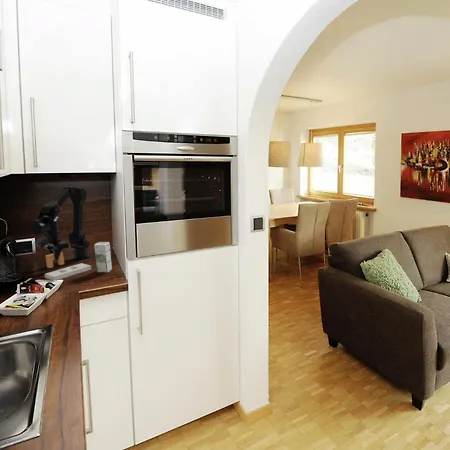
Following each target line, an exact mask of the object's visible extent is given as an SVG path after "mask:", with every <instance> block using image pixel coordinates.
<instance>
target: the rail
mask: <svg viewBox="0 0 450 450" xmlns="http://www.w3.org/2000/svg"><path fill="white" fill-rule="evenodd" d="M91 270H92V265H89V264H85V263H82V262H81V263H78V264H74V265H70V266H68V267H64V268H59V269H57V270H52V271H50V272H47V273H44V279H47V280H50V281H53V280H56V281H59V280H63V279H65V278H69V277H71V276H75V275H78V274H80V273H81V274H82V273H84V272H87V271H91Z"/></svg>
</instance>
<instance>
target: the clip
mask: <svg viewBox="0 0 450 450" xmlns="http://www.w3.org/2000/svg"><path fill="white" fill-rule="evenodd" d="M54 261H55V257H54V253H53V254H49V253H48V254H45V262H46V268H48V269H51V268H54ZM57 265H60V266H62V265H65V258H64V252H63V251H61V254H60V256H59V259H58V261H57Z"/></svg>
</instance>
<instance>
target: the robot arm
mask: <svg viewBox="0 0 450 450" xmlns="http://www.w3.org/2000/svg"><path fill="white" fill-rule="evenodd" d="M87 195H88V194H87V190H86V189H85V188H84V187H82V188H81V187H80V188H79V187H74V186H64V187H62V189H61V191H59V193H58V194H57V195H56V196H55V197H54V198H53V199H52V200H50V201H49V202H47V203H44V205H42V206H41V208H40V211H39V212H38V216H37V218H36V219H35V220H33V221H34V223H33V224H32V225H31V229H30V230H31V231H32V233H33V234H34V235H41V234H43V235H42V236H41V237H39V238H38V239H36V240H34V244H35V246H36V248H40V249H43V248H44V249H45V250H47V251H48V255H49V254H53V253H54V257H55V260H54V261H57V262H58V259H59V256H60V254H61V252H63V250H64V249H69V248H70V247H71V249H73V259H74V260H79V261H81V260H85V259H88V258H90V256H89V254H88V248H89V247H90V245H91V244H90V243H91V242H89V241H88V239H86V234H85V232H84V230H83V223H84V222H83V221H84V220H83V217H84V216H83V213H84V210H83V209H84V204H85V202H86V199H87ZM68 199H70V201H71V203H72V231H71V232H69V233H68V242H67V241H62V240H61V239H60V234H61V231H59V227H58V221H59V220H60V217H58V215H59V213H60V212H61V207H62V206H63V205H64V203H65V202H66V201H67V200H68Z"/></svg>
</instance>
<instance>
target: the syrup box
mask: <svg viewBox="0 0 450 450" xmlns="http://www.w3.org/2000/svg"><path fill="white" fill-rule="evenodd" d="M94 254H95V255H94V256H95V263H96V264H95V266H96V272H97V273H109V272H111V271H112V270H113V266H112V258H111V257H112V255H111V245H110V241H99V242H98V241H97V242H96V243H95V244H94Z"/></svg>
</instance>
